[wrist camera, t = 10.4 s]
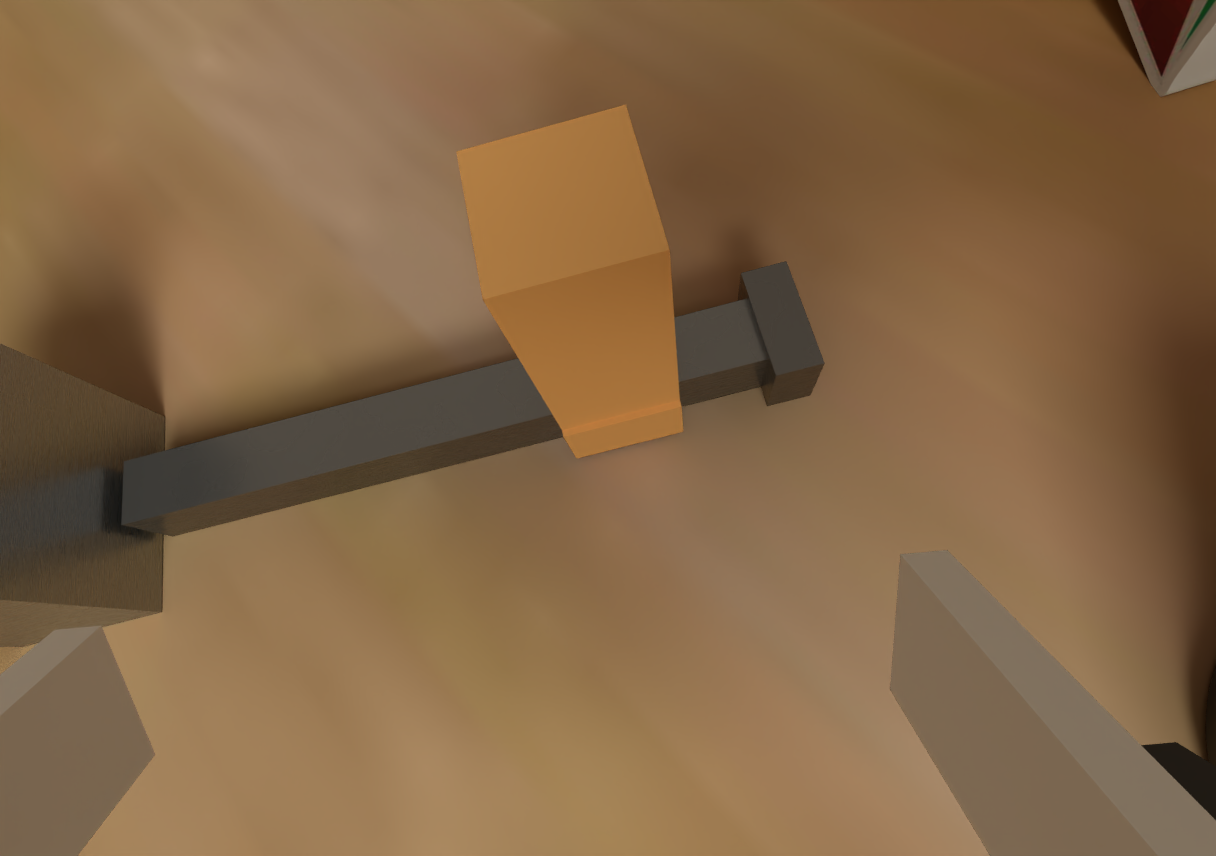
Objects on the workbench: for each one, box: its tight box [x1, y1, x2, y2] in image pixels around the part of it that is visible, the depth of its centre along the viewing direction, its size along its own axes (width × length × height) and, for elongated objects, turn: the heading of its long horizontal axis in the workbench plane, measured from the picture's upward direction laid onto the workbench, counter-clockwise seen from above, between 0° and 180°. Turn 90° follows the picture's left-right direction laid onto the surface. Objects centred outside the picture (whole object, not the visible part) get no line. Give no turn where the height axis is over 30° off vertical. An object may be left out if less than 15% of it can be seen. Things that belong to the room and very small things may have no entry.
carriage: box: [457, 105, 683, 458], centre depth 24 cm, size 5×6×14 cm
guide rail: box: [121, 261, 824, 536], centre depth 30 cm, size 31×5×4 cm, turn 103°
